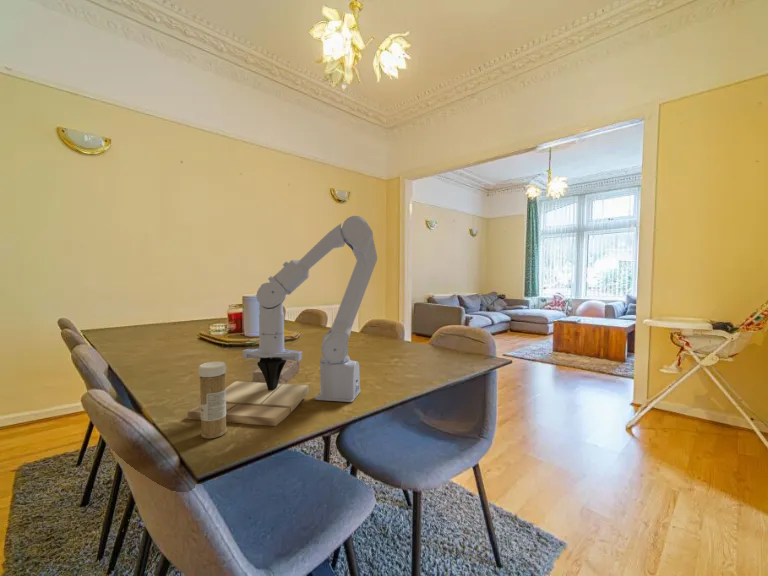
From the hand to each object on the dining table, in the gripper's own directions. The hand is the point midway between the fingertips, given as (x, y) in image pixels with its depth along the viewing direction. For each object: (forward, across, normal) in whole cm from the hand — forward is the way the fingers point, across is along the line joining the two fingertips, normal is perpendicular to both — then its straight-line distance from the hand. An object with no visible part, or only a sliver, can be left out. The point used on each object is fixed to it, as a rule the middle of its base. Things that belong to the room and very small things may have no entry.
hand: (272, 388), depth 83 cm
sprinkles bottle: (+3, -2, -19) cm, 19 cm away
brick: (+3, -7, +16) cm, 18 cm away
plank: (+2, -2, -2) cm, 3 cm away
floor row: (+3, -2, -11) cm, 11 cm away
